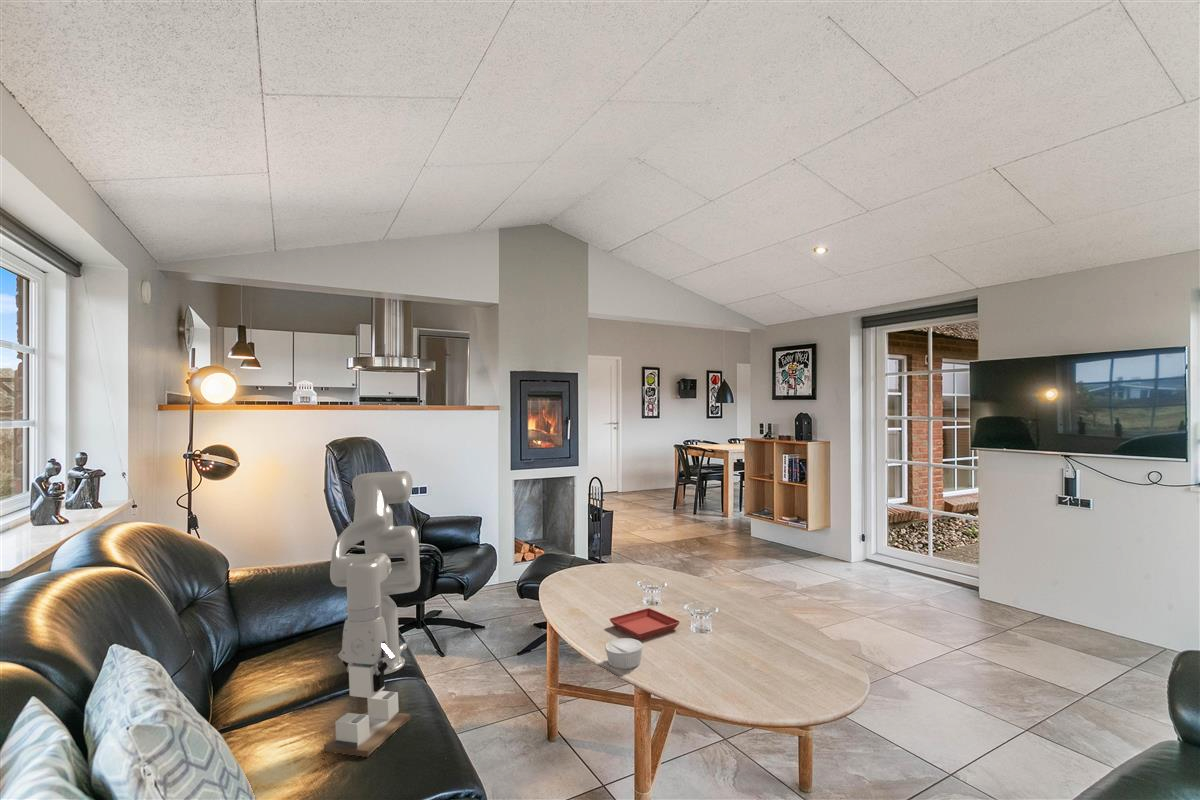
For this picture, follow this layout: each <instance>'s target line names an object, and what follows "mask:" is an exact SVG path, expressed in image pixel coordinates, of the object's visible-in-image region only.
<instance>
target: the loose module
mask: <svg viewBox="0 0 1200 800" xmlns="http://www.w3.org/2000/svg"><path fill="white" fill-rule="evenodd" d="M378 666H379V667H380V665H379V662H378ZM373 675H375V672H374V669H373V666H372V665H367V664H355V663H354V664H352V665H350V666H349V672H348V687H349V689H348V690H349V697H358V698H372V697H373V696H375V695H376V694H377V693H379V692H380V691H384V689H386V688H385V686H384V687H383V688H381V689H380V690H378V691H377V692H374V684H373Z"/></svg>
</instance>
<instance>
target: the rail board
mask: <svg viewBox="0 0 1200 800" xmlns="http://www.w3.org/2000/svg"><path fill="white" fill-rule="evenodd" d="M362 714H363V715H368V710H367V711H366V712H364V713H362ZM409 720H410V721H411V714H410V713H404V712H403V713H402V712H400V711H399V712H398V713H396V714H395V715H394V716H393V717H392V718H390V719H389V720H385V719H377V718H369V732H370V736H369V737H368V738H367V739H365V740H364V741H363V742H362V743H361V744H359V745H358V746H357V743H354V742H347V741H339V740H336V735H335V736H333V737H332V738H330V740H328V741H327V742H326V743H325V744H323V751H326V753H331V752H334V753H333V754H338V753H345V754H355V755H363V756H369V755H370V754H371V753H372V752H373V751H374V750H375V749H376V748H377V747H379V746H380V745H381V744H382V743H383V742H384V741H385V740H386V739H387V738H388V737H389V736H390V735H391V734H392V733H394V732H395V731H396V730H397V729H398V728H399V727H401V726H402V725H403V724H405V723H406V722H407V721H409ZM410 721H409V722H410ZM335 752H336V753H335Z"/></svg>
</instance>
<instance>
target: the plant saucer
mask: <svg viewBox="0 0 1200 800" xmlns="http://www.w3.org/2000/svg"><path fill="white" fill-rule="evenodd" d="M609 621H610V623H611V624H612V625H613V626H614V627H615V628H616V627H617V628H616V629H618V628H619V629H618V630H620V631H622V632H624V633H626V634H628V635H629V636H632V637H634V639H636V640H638V641H640V640H645V639H648V638H652V637H654V636H658V635H661V634H664V633H668V632H671V631H674V630H675V629H676V628H677V627H678V625H680V623H681V621H680V620H678V619H676V618H673V617H671V616H669V615H666V614H664V613H661V612H659V611H657V610H655V609H653V608H643V609H640V610H636V611H632V612H629V613H625V614H621V615H618V616H614V617H611V618H609Z"/></svg>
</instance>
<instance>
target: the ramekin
mask: <svg viewBox="0 0 1200 800" xmlns="http://www.w3.org/2000/svg"><path fill="white" fill-rule="evenodd" d="M643 646H644V645H643V643H642V642H641V641H640V640H639V639H636V638H630V637H628V638H627V637H623V638H622V637H620V638H615V639H612V640H610V641H608V642H607V643H606V644H605V646H604V650H605V652H606V656H607V661H608V663H609V665H610V666H611V667H613V668H615V669H618V670H629V669H633V668H636V667H637V666H639V664H640V663H641V661H642V653H643V652H642V651H643V649H644V648H643Z"/></svg>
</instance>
